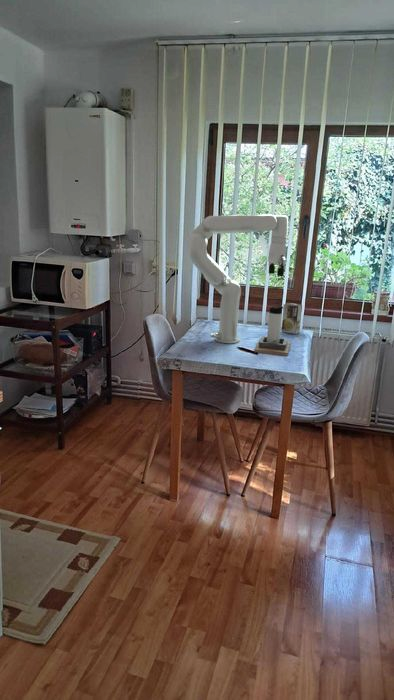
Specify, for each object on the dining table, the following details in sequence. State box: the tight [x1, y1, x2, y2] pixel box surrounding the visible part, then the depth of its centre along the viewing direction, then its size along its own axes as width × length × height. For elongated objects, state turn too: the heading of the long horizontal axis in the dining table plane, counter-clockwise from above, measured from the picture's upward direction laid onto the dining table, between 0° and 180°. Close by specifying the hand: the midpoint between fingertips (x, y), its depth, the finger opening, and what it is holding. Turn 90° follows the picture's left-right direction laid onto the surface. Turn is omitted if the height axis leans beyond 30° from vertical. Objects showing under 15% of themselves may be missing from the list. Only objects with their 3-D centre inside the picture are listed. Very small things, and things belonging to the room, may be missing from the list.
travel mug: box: [266, 305, 283, 344], centre depth 241 cm, size 6×7×20 cm
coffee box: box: [280, 302, 303, 335], centre depth 278 cm, size 9×6×16 cm
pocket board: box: [253, 335, 291, 357], centre depth 244 cm, size 22×16×4 cm
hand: (275, 274), depth 251 cm, fingers open, 9 cm apart
